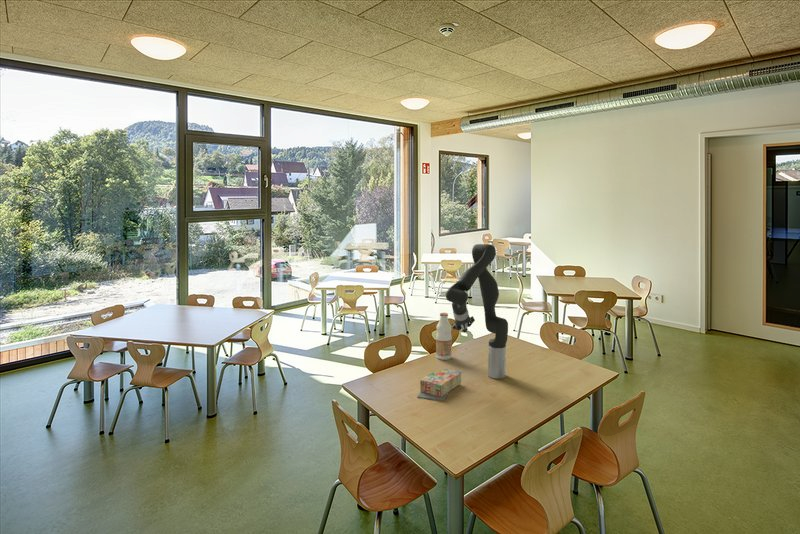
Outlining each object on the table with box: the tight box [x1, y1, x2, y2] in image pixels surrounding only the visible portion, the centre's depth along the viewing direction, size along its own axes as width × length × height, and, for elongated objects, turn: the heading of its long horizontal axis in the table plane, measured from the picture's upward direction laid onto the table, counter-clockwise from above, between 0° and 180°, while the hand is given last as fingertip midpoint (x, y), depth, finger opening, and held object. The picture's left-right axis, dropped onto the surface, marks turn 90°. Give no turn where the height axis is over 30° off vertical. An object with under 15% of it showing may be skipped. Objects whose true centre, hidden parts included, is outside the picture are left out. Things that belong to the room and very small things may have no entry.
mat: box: [417, 391, 449, 402], centre depth 236 cm, size 13×24×1 cm, turn 161°
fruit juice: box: [435, 312, 453, 361], centre depth 283 cm, size 9×9×28 cm
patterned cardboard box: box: [419, 368, 462, 397], centre depth 238 cm, size 21×6×12 cm
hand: (464, 330), depth 248 cm, fingers closed
